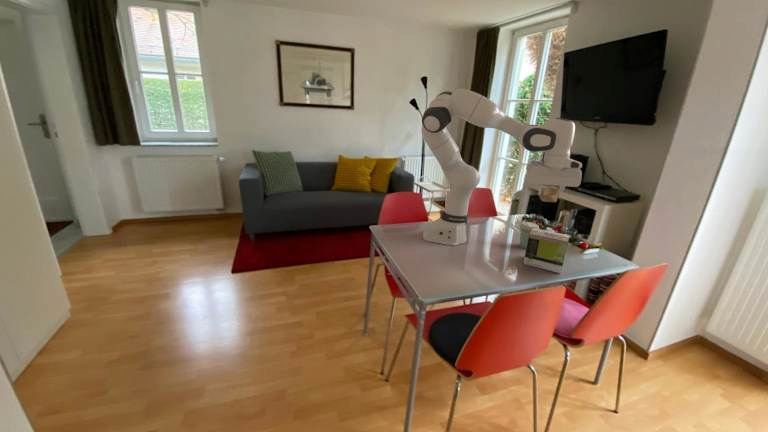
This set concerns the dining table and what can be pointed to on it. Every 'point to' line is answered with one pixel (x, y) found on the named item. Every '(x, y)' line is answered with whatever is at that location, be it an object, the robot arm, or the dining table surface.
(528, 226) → the coffee cup
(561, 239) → the tea box
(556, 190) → the oak block
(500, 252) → the dining table surface
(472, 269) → the dining table surface
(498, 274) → the dining table surface
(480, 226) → the dining table surface
